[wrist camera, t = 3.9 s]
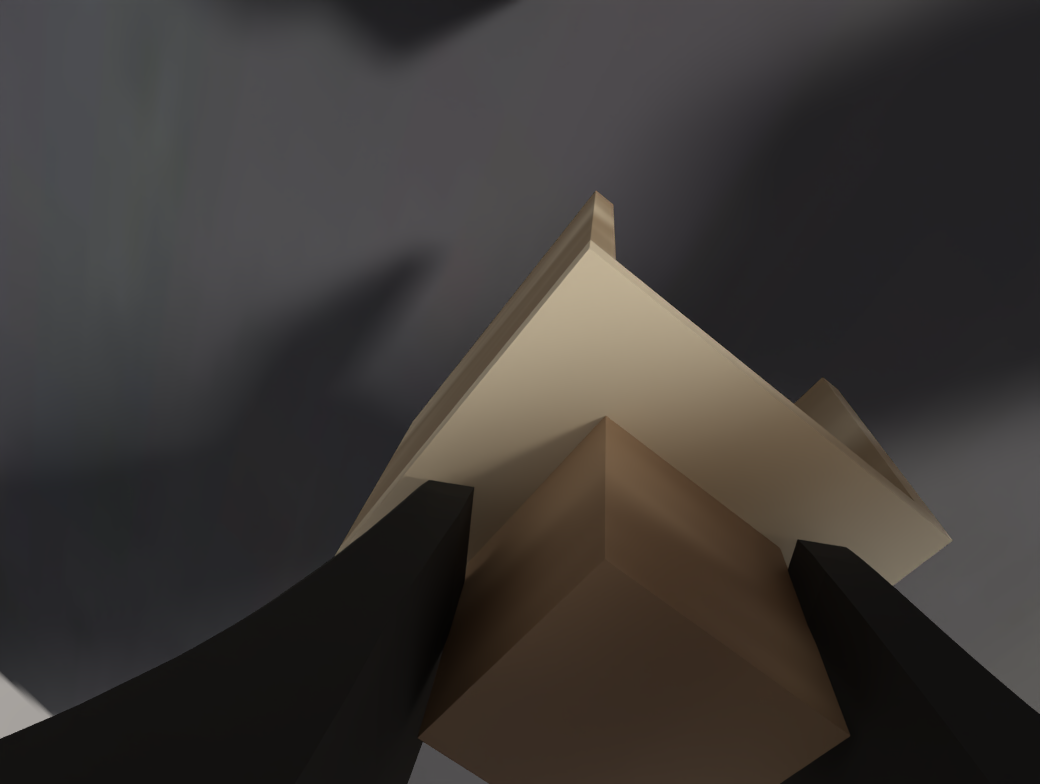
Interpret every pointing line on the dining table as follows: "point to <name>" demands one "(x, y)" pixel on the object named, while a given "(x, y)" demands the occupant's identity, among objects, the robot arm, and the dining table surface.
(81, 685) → the dining table surface
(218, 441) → the dining table surface
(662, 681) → the cover
